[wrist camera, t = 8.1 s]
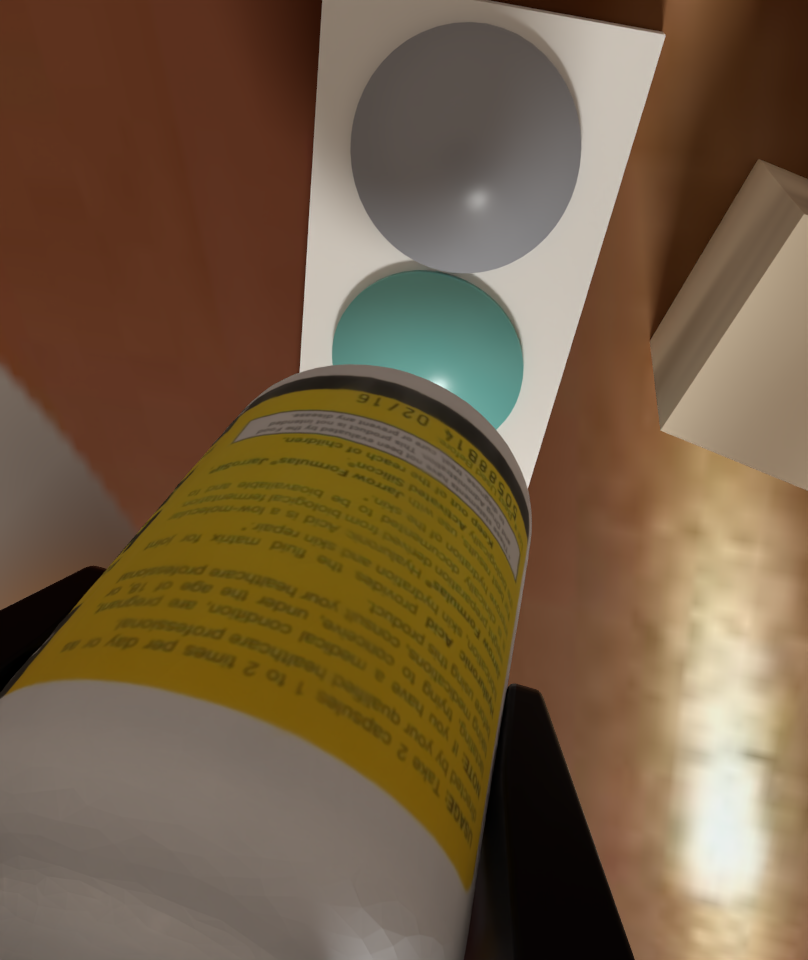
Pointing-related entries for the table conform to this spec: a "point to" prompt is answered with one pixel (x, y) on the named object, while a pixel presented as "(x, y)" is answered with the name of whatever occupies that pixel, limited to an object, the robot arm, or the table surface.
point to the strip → (466, 193)
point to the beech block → (744, 334)
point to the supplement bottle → (277, 695)
